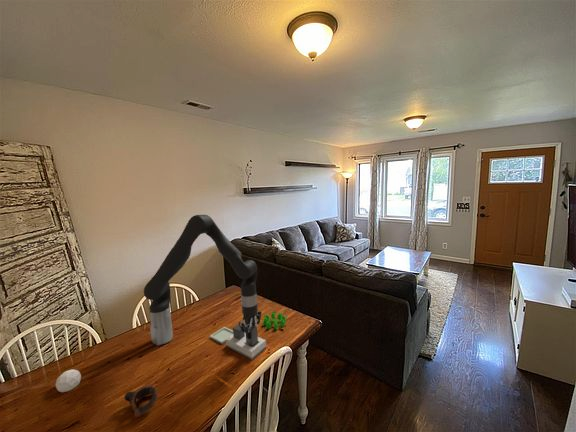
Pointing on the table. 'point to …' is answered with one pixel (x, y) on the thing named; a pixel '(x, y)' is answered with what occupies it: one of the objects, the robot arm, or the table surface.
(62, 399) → the table surface
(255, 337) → the grey rectangular prism
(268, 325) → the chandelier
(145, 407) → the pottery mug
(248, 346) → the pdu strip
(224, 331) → the sage tray
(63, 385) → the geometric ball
